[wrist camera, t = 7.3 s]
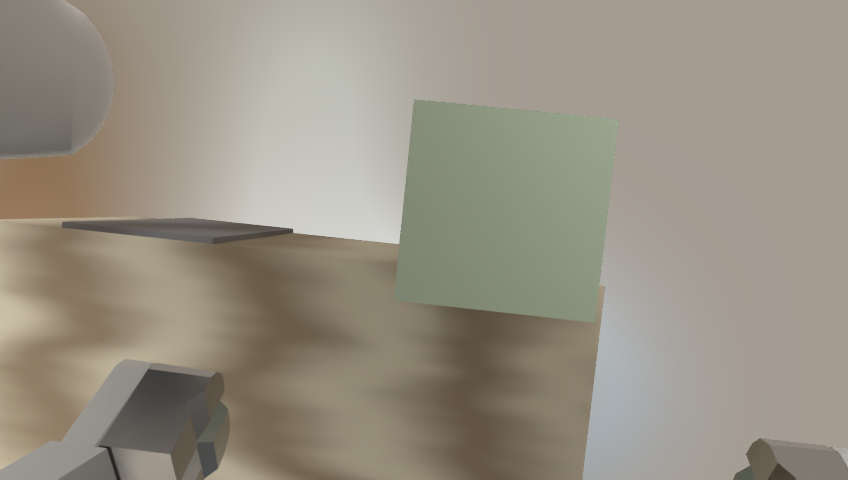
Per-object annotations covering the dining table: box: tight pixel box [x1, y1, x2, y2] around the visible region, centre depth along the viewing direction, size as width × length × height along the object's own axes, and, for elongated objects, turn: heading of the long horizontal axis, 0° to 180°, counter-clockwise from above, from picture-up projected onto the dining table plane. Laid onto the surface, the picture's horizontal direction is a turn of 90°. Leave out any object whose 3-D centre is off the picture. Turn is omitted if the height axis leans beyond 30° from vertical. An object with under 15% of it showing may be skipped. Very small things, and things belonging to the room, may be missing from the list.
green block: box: [394, 100, 619, 323], centre depth 23 cm, size 4×24×4 cm, turn 177°
